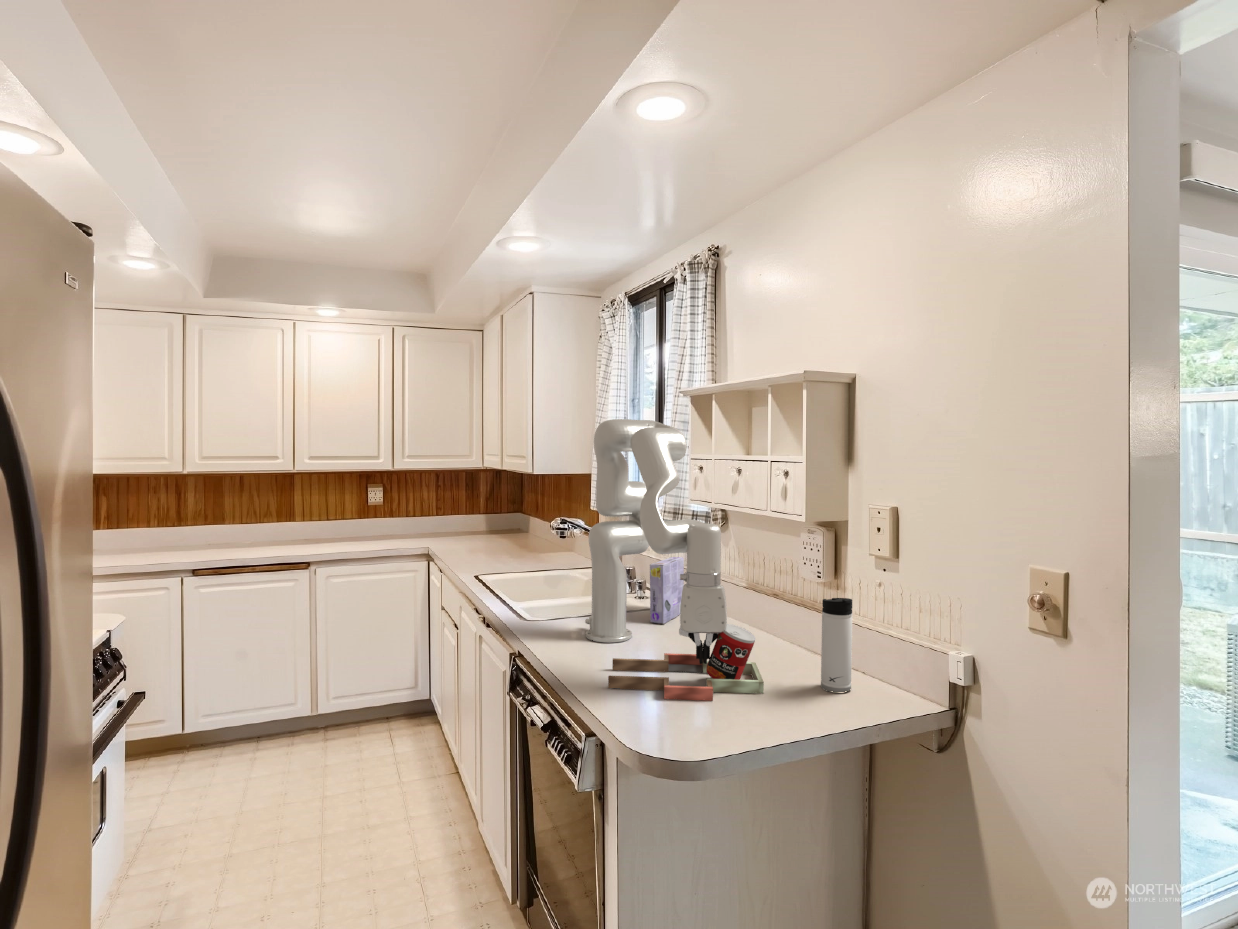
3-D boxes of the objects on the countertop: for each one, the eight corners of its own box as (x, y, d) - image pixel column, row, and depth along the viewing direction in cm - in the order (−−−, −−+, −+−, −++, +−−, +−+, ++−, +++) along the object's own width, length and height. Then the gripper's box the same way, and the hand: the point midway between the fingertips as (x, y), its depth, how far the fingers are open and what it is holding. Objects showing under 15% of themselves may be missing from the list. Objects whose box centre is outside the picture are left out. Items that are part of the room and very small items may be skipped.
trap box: (606, 697, 141) (606, 685, 140) (614, 662, 163) (614, 652, 163) (767, 702, 138) (767, 690, 138) (752, 666, 161) (752, 655, 161)
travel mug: (835, 696, 142) (837, 601, 142) (814, 685, 148) (816, 595, 148) (858, 692, 145) (860, 599, 144) (837, 682, 151) (838, 592, 150)
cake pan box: (671, 609, 217) (672, 554, 217) (686, 611, 215) (686, 556, 215) (648, 623, 200) (648, 563, 200) (663, 625, 198) (664, 565, 197)
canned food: (699, 671, 149) (716, 626, 147) (714, 664, 155) (731, 621, 154) (729, 689, 145) (747, 643, 143) (743, 681, 151) (761, 637, 150)
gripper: (669, 582, 147) (669, 666, 147) (739, 583, 146) (738, 668, 146) (669, 576, 154) (669, 656, 155) (735, 577, 153) (735, 658, 153)
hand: (702, 662), depth 150 cm, fingers closed
